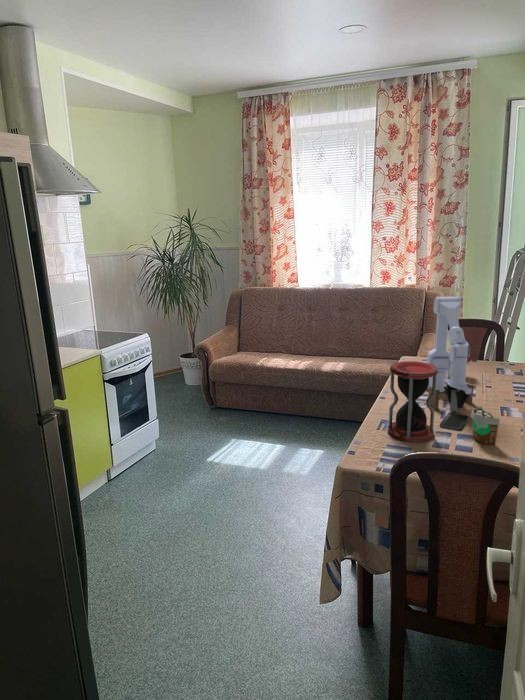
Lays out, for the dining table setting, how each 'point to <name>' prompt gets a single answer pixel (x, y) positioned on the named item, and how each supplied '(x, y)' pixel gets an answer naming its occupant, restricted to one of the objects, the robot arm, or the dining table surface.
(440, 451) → the dining table surface
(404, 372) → the hourglass
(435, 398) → the domino
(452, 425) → the phone
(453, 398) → the domino
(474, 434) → the food container
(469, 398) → the domino
